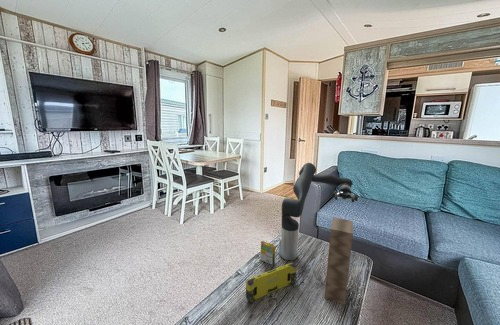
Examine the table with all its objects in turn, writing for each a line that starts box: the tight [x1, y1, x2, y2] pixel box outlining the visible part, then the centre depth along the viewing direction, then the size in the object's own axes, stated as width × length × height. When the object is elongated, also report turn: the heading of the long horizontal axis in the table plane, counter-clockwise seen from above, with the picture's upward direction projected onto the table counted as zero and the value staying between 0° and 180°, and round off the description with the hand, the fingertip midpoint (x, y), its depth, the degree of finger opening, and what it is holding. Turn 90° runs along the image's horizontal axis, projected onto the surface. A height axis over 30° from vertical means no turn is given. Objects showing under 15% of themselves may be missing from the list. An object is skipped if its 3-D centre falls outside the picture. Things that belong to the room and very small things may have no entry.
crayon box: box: [259, 240, 276, 266], centre depth 113 cm, size 7×3×12 cm, turn 59°
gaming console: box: [245, 262, 298, 303], centre depth 93 cm, size 26×4×10 cm, turn 119°
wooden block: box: [323, 217, 354, 306], centre depth 91 cm, size 8×12×32 cm, turn 155°
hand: (344, 199), depth 124 cm, fingers open, 8 cm apart
